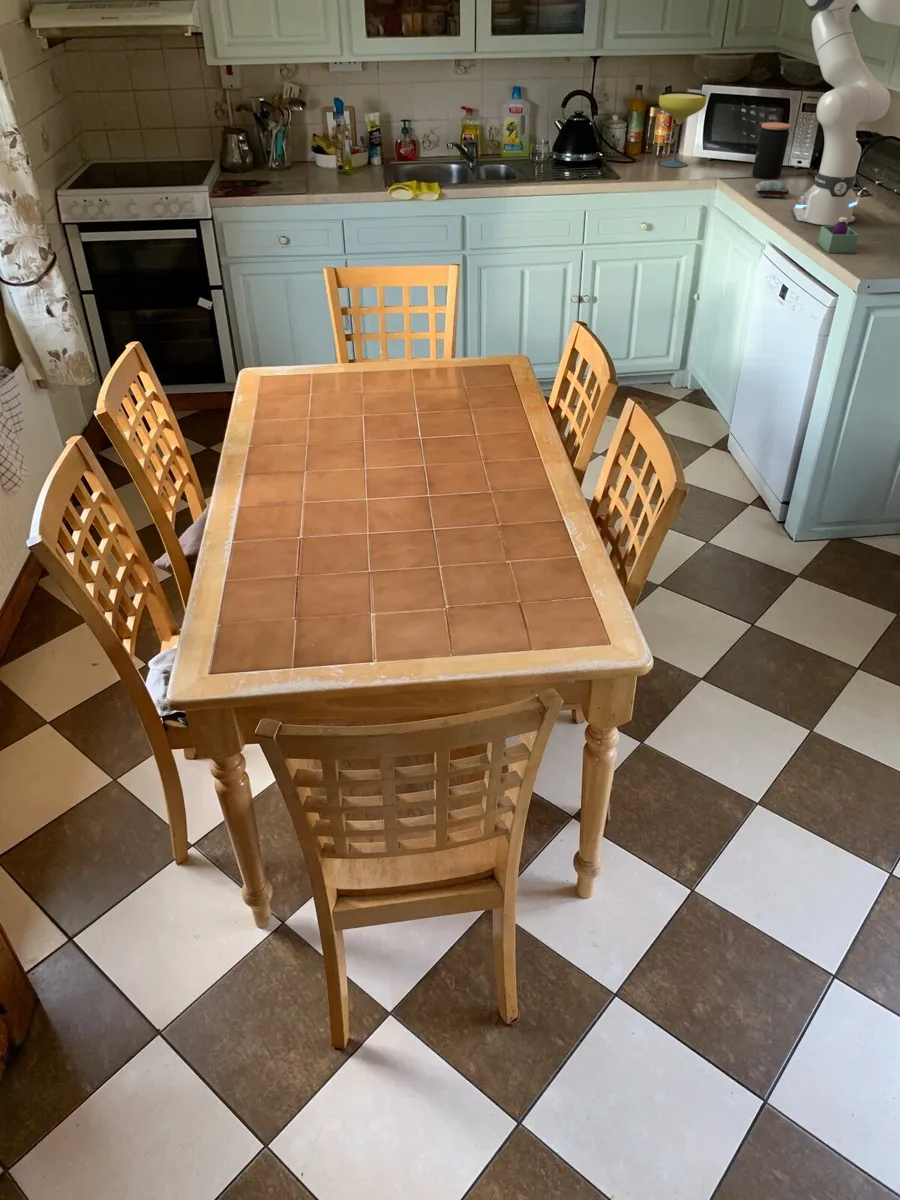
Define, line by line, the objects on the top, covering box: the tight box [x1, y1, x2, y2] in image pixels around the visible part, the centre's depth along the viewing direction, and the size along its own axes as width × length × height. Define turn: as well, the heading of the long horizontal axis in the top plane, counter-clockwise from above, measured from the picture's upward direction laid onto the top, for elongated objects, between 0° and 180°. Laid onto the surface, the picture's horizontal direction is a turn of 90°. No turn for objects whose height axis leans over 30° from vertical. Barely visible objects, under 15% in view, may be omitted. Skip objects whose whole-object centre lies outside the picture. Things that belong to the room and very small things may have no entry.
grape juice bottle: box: [833, 217, 849, 235], centre depth 265 cm, size 4×4×8 cm
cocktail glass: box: [658, 91, 707, 168], centre depth 354 cm, size 18×18×25 cm
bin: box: [817, 225, 860, 254], centre depth 266 cm, size 10×8×5 cm
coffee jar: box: [752, 121, 792, 180], centre depth 339 cm, size 11×11×18 cm
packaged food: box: [754, 180, 791, 198], centre depth 318 cm, size 9×12×5 cm
